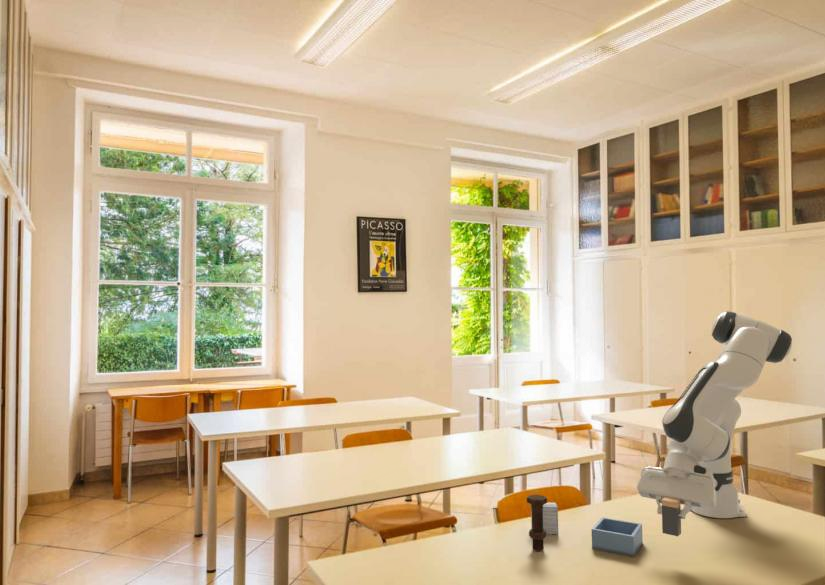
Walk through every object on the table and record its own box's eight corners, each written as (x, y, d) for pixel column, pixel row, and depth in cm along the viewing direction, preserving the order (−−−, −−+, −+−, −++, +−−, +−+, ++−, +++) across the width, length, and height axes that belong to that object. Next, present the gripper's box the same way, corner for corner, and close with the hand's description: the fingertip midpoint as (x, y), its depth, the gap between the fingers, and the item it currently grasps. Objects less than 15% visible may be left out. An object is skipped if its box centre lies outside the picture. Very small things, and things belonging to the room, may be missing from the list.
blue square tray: (602, 535, 180) (602, 517, 180) (642, 543, 174) (642, 523, 174) (592, 548, 170) (591, 529, 170) (634, 557, 164) (633, 536, 164)
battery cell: (665, 529, 163) (665, 496, 164) (681, 533, 161) (680, 499, 161) (662, 533, 161) (661, 499, 161) (677, 536, 158) (677, 502, 159)
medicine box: (556, 530, 186) (556, 502, 186) (558, 535, 181) (558, 506, 182) (531, 529, 186) (530, 501, 187) (532, 534, 182) (532, 506, 182)
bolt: (541, 555, 167) (540, 501, 167) (525, 550, 170) (524, 498, 170) (550, 548, 171) (549, 495, 172) (534, 544, 174) (533, 493, 175)
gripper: (640, 459, 173) (629, 501, 166) (716, 471, 160) (708, 517, 152) (645, 471, 177) (635, 513, 169) (721, 483, 164) (713, 529, 156)
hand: (670, 515), depth 161 cm, fingers closed on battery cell, 4 cm apart
